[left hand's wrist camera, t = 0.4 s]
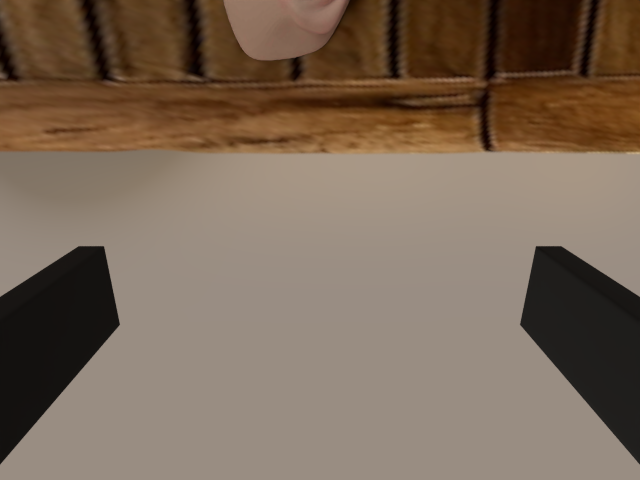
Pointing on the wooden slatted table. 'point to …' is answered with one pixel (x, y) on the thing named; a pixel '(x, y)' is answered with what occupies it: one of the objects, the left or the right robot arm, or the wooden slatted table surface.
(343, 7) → the anatomical model
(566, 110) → the wooden slatted table surface
